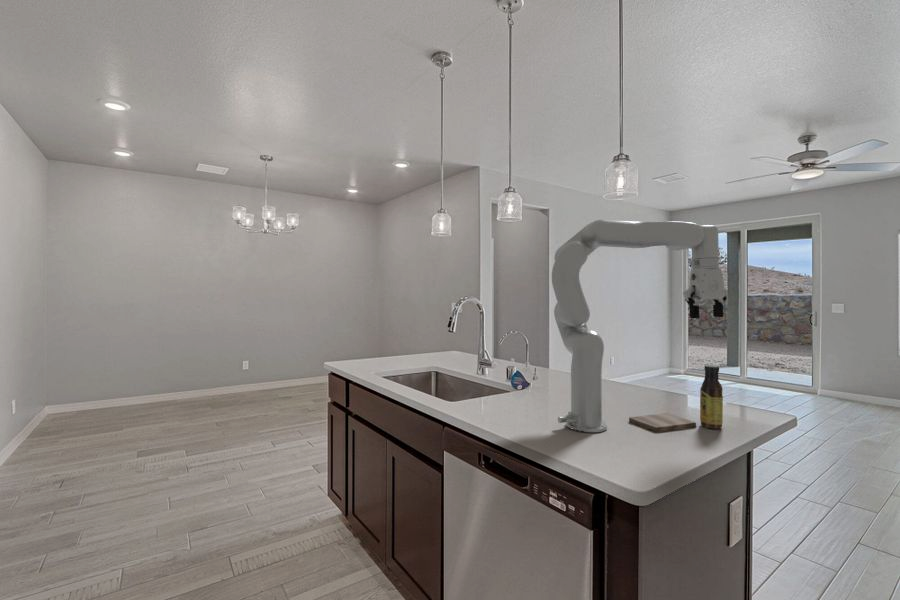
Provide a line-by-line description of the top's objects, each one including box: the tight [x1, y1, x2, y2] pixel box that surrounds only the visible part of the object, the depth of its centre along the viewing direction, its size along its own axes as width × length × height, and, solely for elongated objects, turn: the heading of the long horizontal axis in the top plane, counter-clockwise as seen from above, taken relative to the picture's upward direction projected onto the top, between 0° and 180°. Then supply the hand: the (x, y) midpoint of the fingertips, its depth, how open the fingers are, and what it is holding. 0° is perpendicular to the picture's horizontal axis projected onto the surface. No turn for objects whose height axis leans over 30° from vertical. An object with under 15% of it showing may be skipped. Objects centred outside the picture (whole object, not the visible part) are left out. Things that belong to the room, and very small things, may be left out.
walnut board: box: [628, 412, 697, 433], centre depth 144 cm, size 16×12×2 cm
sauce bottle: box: [699, 364, 724, 430], centre depth 141 cm, size 6×6×20 cm
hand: (706, 317), depth 141 cm, fingers open, 9 cm apart
